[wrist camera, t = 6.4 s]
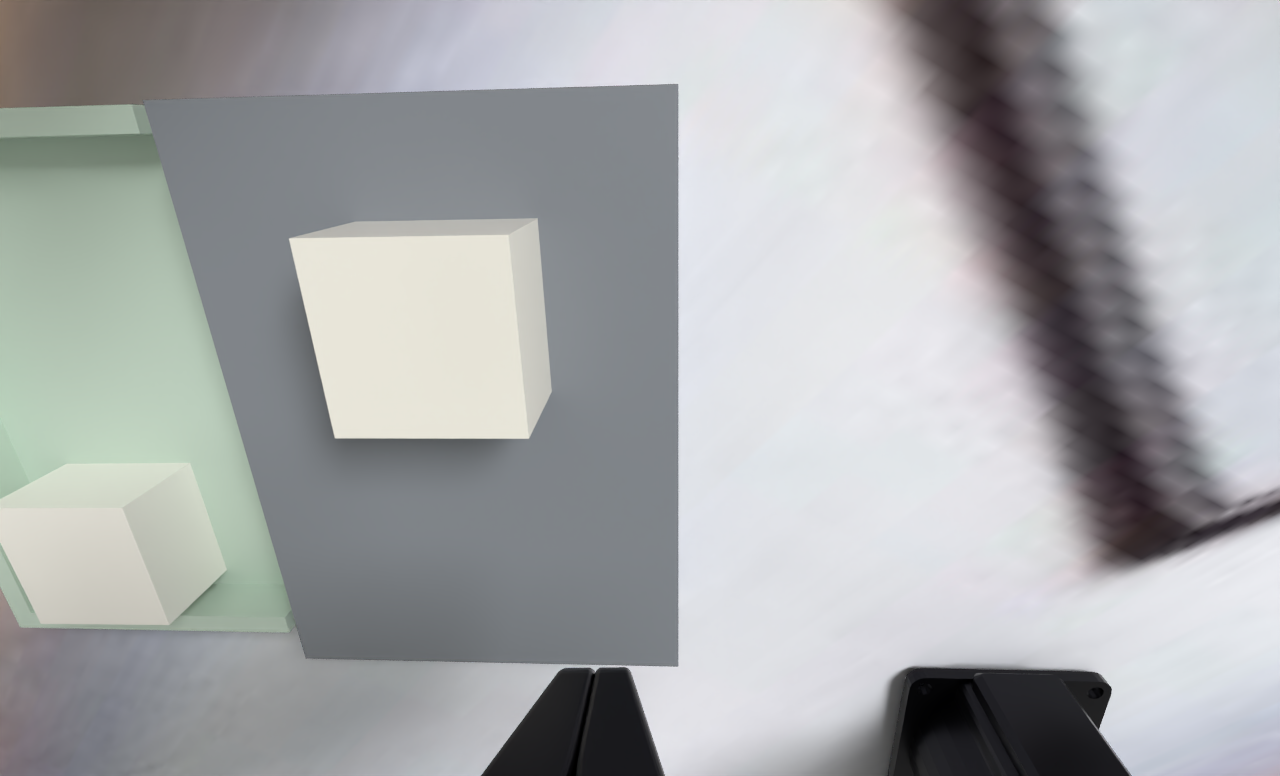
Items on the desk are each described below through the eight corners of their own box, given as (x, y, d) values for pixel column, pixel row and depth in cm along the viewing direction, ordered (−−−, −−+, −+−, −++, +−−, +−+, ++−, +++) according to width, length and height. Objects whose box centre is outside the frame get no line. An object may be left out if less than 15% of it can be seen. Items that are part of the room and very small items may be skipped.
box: (340, 589, 21) (308, 632, 19) (76, 585, 22) (20, 627, 20) (219, 108, 15) (157, 103, 14) (-132, 118, 16) (-238, 115, 14)
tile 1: (551, 391, 15) (529, 438, 12) (387, 392, 15) (335, 438, 13) (537, 218, 13) (508, 234, 11) (355, 221, 13) (288, 238, 11)
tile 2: (41, 623, 18) (112, 569, 21) (169, 625, 18) (227, 569, 20) (-18, 508, 17) (66, 463, 19) (122, 507, 17) (189, 462, 19)
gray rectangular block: (677, 595, 20) (678, 666, 18) (354, 589, 21) (305, 658, 18) (677, 95, 15) (678, 83, 12) (237, 107, 15) (142, 100, 13)
